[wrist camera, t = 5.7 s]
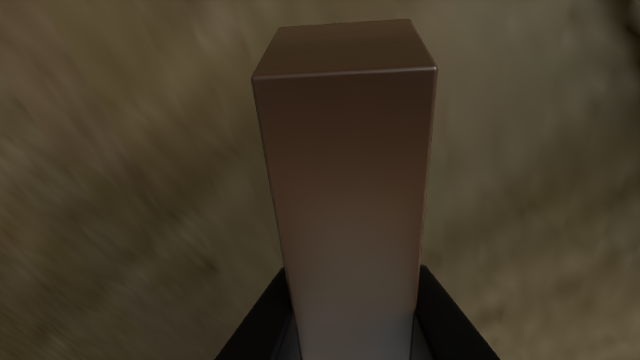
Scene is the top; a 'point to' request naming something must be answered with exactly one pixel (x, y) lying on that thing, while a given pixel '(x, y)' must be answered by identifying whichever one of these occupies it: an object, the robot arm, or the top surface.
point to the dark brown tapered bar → (349, 179)
